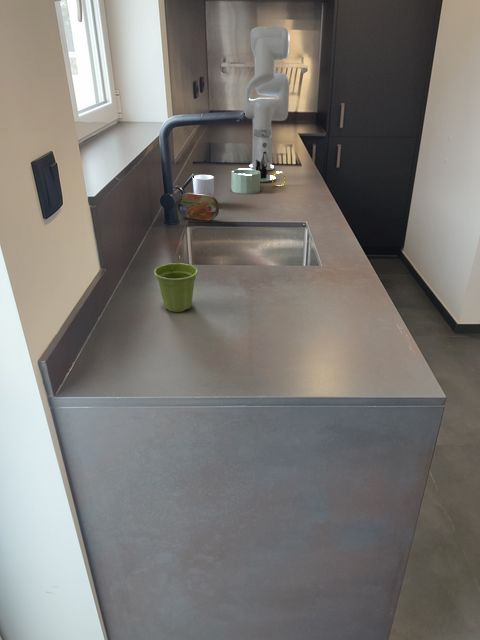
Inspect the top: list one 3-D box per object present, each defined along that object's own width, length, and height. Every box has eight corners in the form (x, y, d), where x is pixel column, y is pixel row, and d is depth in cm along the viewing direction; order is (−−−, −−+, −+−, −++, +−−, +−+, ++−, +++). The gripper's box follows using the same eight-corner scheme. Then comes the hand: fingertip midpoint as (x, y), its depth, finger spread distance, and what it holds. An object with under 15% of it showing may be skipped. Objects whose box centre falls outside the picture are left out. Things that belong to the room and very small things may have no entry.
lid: (243, 176, 230) (243, 164, 227) (270, 176, 234) (270, 163, 231) (250, 183, 220) (251, 169, 217) (278, 182, 223) (279, 169, 220)
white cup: (218, 203, 189) (217, 176, 184) (207, 208, 183) (207, 180, 178) (200, 200, 192) (199, 173, 187) (189, 205, 186) (188, 177, 181)
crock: (228, 187, 212) (228, 169, 208) (255, 186, 215) (256, 168, 211) (234, 194, 202) (235, 175, 198) (263, 193, 205) (263, 174, 201)
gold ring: (271, 187, 215) (272, 172, 212) (271, 185, 217) (271, 171, 214) (285, 187, 215) (286, 172, 212) (284, 185, 218) (285, 171, 215)
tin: (177, 216, 172) (176, 192, 168) (181, 214, 175) (180, 190, 171) (216, 222, 168) (216, 197, 164) (220, 220, 171) (220, 195, 166)
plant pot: (159, 297, 116) (156, 262, 112) (199, 297, 117) (198, 262, 113) (155, 316, 108) (151, 279, 104) (198, 315, 109) (197, 279, 105)
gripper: (276, 136, 211) (274, 180, 220) (265, 130, 225) (263, 172, 234) (259, 136, 209) (258, 181, 218) (249, 131, 223) (248, 172, 232)
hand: (261, 176), depth 226 cm, fingers open, 5 cm apart
